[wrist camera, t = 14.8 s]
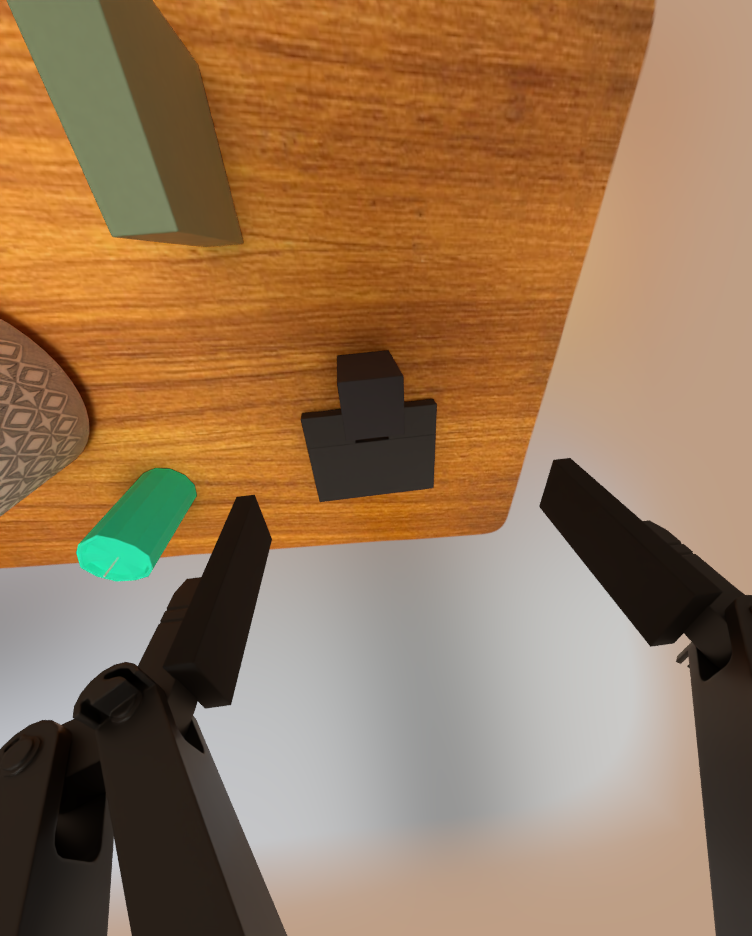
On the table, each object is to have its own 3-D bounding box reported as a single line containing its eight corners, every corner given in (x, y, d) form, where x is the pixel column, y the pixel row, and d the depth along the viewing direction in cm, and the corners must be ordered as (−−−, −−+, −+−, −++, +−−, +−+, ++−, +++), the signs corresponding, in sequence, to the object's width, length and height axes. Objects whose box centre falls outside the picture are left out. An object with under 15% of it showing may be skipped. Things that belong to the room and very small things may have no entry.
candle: (199, 476, 35) (146, 560, 25) (194, 513, 38) (143, 602, 28) (139, 461, 33) (56, 545, 23) (138, 501, 36) (63, 592, 26)
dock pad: (433, 398, 33) (437, 404, 32) (430, 480, 39) (433, 488, 38) (302, 413, 32) (300, 419, 31) (320, 494, 38) (319, 502, 37)
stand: (198, 63, 19) (45, -153, 9) (244, 243, 24) (178, 231, 14) (148, 66, 19) (-62, -150, 9) (205, 247, 24) (111, 237, 14)
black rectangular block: (388, 350, 30) (403, 375, 23) (392, 425, 34) (405, 464, 28) (336, 355, 29) (336, 382, 23) (347, 430, 34) (350, 471, 27)
